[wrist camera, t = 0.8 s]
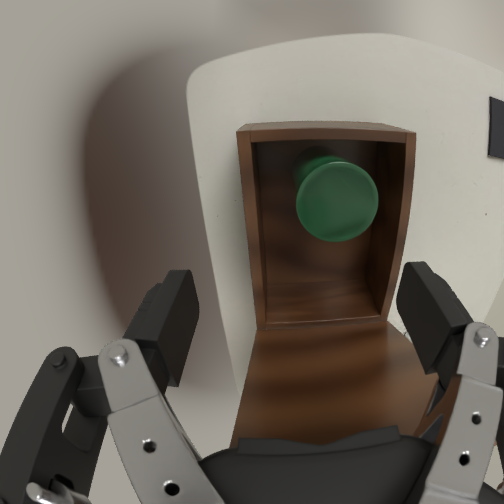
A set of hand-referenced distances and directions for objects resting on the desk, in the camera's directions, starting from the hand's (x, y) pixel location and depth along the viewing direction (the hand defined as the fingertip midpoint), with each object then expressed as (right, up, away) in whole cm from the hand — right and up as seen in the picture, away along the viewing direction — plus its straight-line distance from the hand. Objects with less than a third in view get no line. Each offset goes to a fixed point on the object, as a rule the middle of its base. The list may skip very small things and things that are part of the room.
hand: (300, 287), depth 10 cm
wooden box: (+6, +6, +21) cm, 22 cm away
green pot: (+5, +9, +18) cm, 20 cm away
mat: (+32, +17, +12) cm, 39 cm away
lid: (+5, -7, +8) cm, 12 cm away
